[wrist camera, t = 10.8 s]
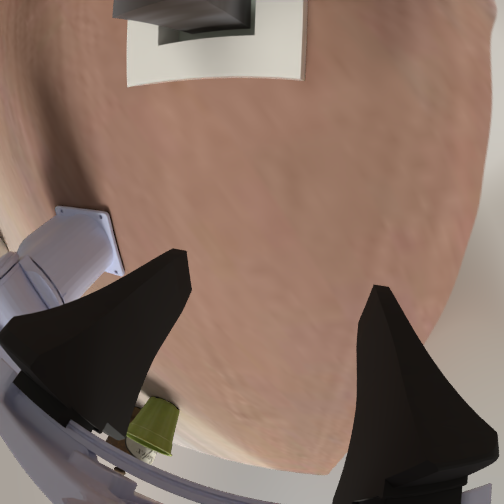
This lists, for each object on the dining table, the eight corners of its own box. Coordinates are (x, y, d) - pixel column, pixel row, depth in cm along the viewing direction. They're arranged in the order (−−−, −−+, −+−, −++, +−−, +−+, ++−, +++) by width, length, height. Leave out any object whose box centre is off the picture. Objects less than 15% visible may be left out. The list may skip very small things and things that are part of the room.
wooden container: (178, 432, 67) (151, 490, 49) (144, 421, 73) (118, 472, 55) (149, 410, 60) (117, 475, 42) (116, 399, 66) (85, 454, 48)
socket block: (152, 84, 16) (127, 86, 14) (157, -34, 10) (135, -44, 8) (304, 81, 14) (300, 79, 12) (307, -54, 8) (302, -73, 6)
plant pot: (148, 404, 56) (130, 439, 47) (136, 383, 49) (113, 424, 40) (192, 421, 54) (175, 460, 45) (186, 404, 48) (165, 450, 39)
